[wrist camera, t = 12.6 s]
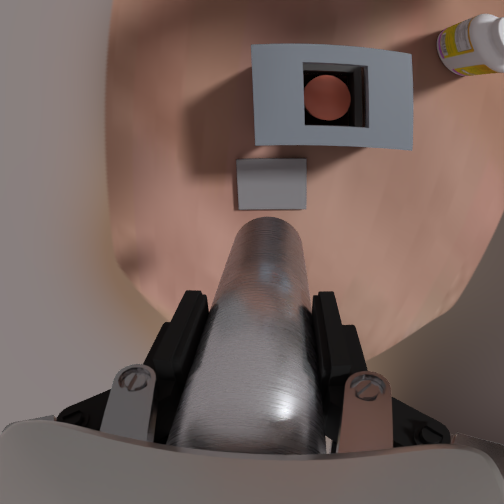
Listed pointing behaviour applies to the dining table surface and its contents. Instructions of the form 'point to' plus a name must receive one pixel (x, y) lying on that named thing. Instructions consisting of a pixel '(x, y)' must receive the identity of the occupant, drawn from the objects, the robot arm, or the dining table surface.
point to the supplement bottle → (473, 46)
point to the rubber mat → (271, 183)
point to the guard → (348, 64)
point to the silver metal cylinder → (256, 354)
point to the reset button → (326, 97)
